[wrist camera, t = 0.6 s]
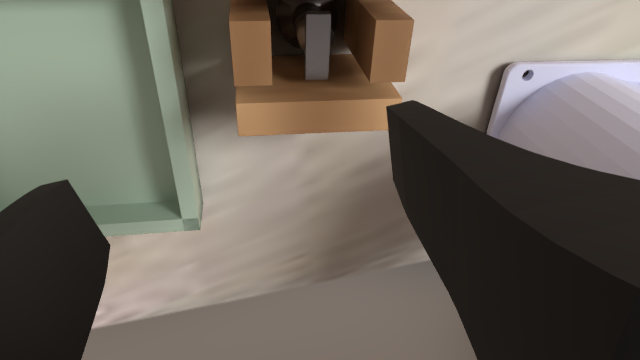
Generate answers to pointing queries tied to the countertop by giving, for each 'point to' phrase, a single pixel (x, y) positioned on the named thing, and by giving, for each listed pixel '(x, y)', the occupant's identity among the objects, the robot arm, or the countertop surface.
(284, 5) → the lever
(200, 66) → the countertop surface
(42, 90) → the tray
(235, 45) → the wooden blocks
